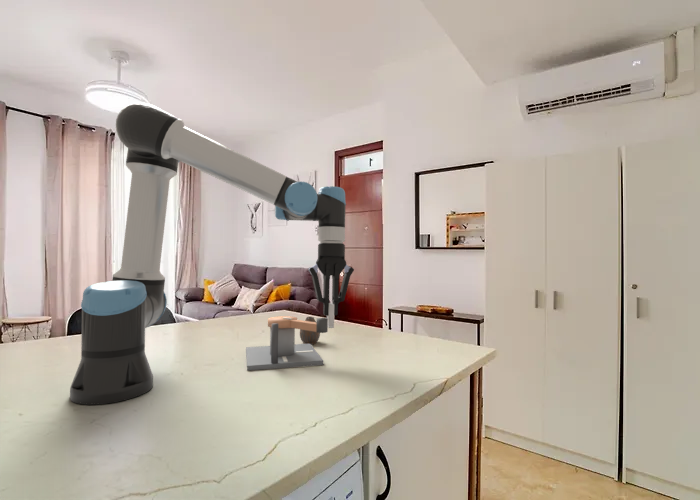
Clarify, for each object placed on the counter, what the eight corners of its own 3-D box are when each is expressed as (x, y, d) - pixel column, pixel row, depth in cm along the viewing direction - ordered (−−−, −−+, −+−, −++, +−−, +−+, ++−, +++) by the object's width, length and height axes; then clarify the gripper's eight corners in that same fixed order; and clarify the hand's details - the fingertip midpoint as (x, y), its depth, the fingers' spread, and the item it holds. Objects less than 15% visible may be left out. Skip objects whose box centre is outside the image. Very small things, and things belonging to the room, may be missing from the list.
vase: (318, 345, 124) (319, 319, 124) (298, 345, 124) (298, 318, 124) (320, 340, 131) (321, 315, 131) (301, 340, 131) (301, 315, 131)
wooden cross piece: (261, 325, 108) (261, 313, 108) (282, 321, 115) (282, 310, 115) (316, 335, 97) (316, 321, 97) (335, 329, 104) (335, 317, 104)
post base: (323, 364, 102) (323, 322, 102) (247, 370, 97) (247, 325, 97) (310, 347, 122) (310, 311, 122) (245, 351, 116) (246, 313, 116)
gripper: (350, 243, 111) (348, 323, 110) (306, 242, 107) (304, 325, 107) (357, 242, 104) (356, 328, 103) (311, 241, 100) (309, 330, 100)
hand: (330, 327), depth 105 cm, fingers closed
